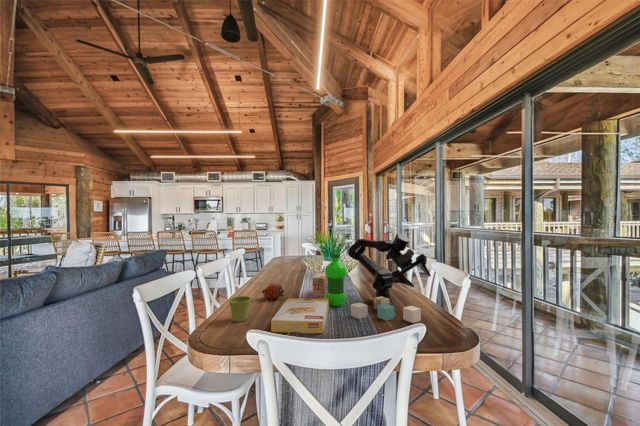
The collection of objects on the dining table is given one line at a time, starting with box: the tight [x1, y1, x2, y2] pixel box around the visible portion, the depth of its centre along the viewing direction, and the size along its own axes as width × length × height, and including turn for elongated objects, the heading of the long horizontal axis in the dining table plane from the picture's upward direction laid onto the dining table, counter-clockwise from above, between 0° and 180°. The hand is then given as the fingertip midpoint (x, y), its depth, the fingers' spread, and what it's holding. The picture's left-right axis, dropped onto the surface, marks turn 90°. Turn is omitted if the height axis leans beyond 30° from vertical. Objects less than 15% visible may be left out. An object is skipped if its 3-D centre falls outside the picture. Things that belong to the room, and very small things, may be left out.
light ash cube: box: [373, 296, 391, 310], centre depth 133 cm, size 5×5×5 cm
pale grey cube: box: [350, 301, 368, 320], centre depth 124 cm, size 5×5×5 cm
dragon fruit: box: [261, 283, 285, 301], centre depth 150 cm, size 8×8×12 cm
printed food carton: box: [312, 272, 328, 298], centre depth 156 cm, size 21×6×12 cm, turn 168°
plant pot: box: [228, 295, 252, 323], centre depth 121 cm, size 9×9×9 cm
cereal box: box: [270, 297, 330, 334], centre depth 121 cm, size 20×6×28 cm
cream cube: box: [402, 305, 422, 324], centre depth 119 cm, size 5×5×5 cm
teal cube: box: [376, 304, 395, 322], centre depth 122 cm, size 5×5×5 cm
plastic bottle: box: [324, 252, 347, 307], centre depth 139 cm, size 10×10×25 cm
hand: (422, 281), depth 126 cm, fingers open, 9 cm apart
